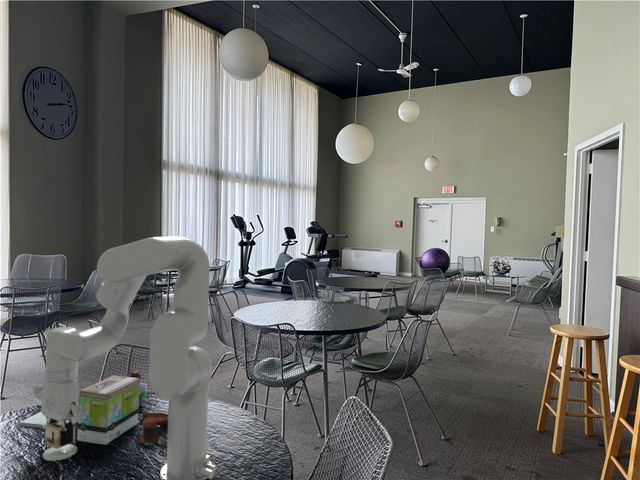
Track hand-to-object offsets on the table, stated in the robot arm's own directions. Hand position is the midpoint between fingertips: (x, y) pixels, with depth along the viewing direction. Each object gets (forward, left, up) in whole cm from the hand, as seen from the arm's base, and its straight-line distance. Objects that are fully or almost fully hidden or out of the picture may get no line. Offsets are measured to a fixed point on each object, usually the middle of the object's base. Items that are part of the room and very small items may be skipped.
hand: (60, 440), depth 120 cm
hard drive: (+25, -11, -4) cm, 27 cm away
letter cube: (0, 0, -1) cm, 1 cm away
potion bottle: (+10, -32, -4) cm, 34 cm away
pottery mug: (-14, -20, -4) cm, 25 cm away
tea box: (0, -15, -4) cm, 15 cm away
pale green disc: (0, 0, -4) cm, 4 cm away
